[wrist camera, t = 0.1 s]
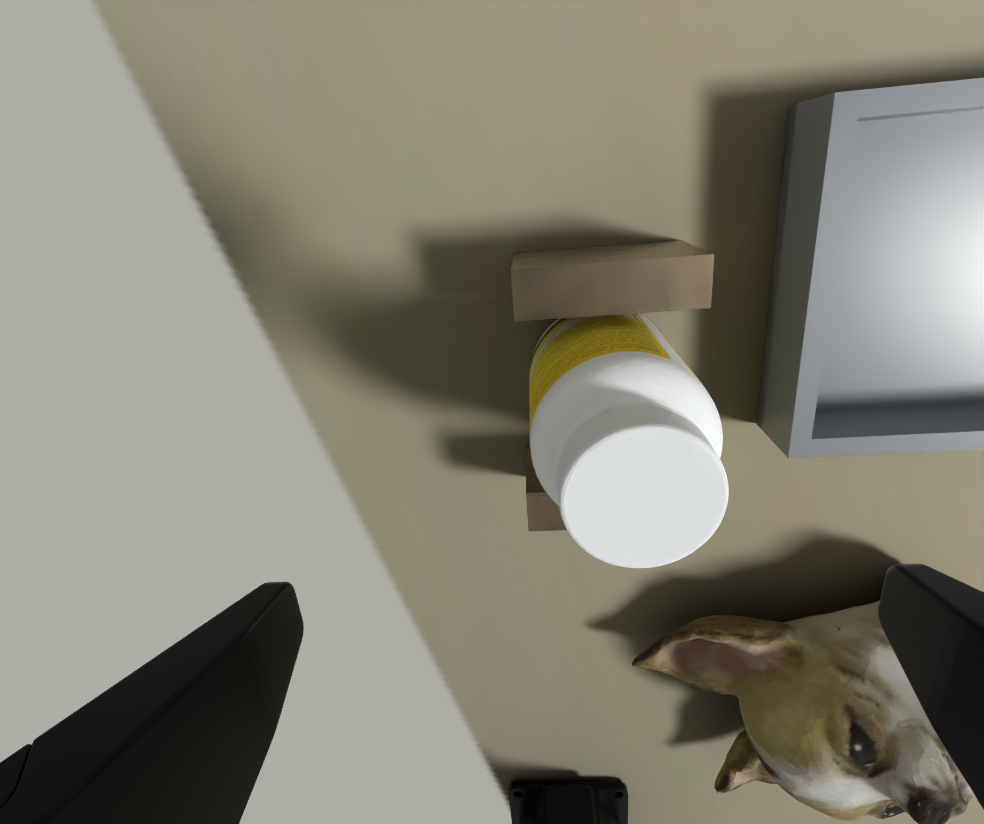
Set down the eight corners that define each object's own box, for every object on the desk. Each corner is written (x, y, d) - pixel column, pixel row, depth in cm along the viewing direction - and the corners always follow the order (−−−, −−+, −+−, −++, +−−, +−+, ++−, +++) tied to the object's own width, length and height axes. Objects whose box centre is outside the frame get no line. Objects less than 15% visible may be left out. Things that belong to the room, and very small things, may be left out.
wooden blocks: (671, 471, 24) (697, 525, 20) (528, 477, 24) (528, 530, 21) (680, 240, 20) (714, 253, 17) (513, 253, 21) (510, 269, 17)
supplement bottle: (501, 378, 23) (483, 511, 14) (592, 271, 21) (641, 342, 12) (602, 455, 24) (647, 626, 15) (697, 360, 22) (815, 487, 13)
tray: (1063, 408, 22) (1141, 442, 19) (756, 423, 23) (788, 458, 20) (1173, 67, 17) (1294, 46, 15) (789, 104, 18) (835, 92, 16)
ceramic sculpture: (1210, 872, 18) (757, 943, 23) (1017, 660, 26) (708, 744, 31) (1149, 649, 15) (641, 782, 20) (951, 485, 23) (619, 607, 28)
